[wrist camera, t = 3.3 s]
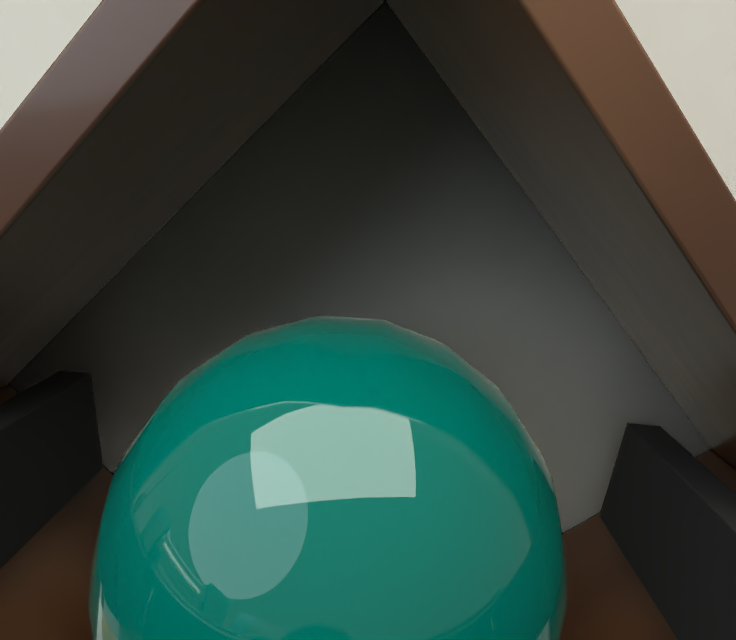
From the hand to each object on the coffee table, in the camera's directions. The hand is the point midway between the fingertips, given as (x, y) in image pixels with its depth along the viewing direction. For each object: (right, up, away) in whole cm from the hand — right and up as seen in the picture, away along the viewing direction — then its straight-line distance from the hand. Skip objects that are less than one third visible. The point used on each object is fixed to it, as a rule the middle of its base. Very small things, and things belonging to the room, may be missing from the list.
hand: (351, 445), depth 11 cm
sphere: (0, +1, +2) cm, 2 cm away
